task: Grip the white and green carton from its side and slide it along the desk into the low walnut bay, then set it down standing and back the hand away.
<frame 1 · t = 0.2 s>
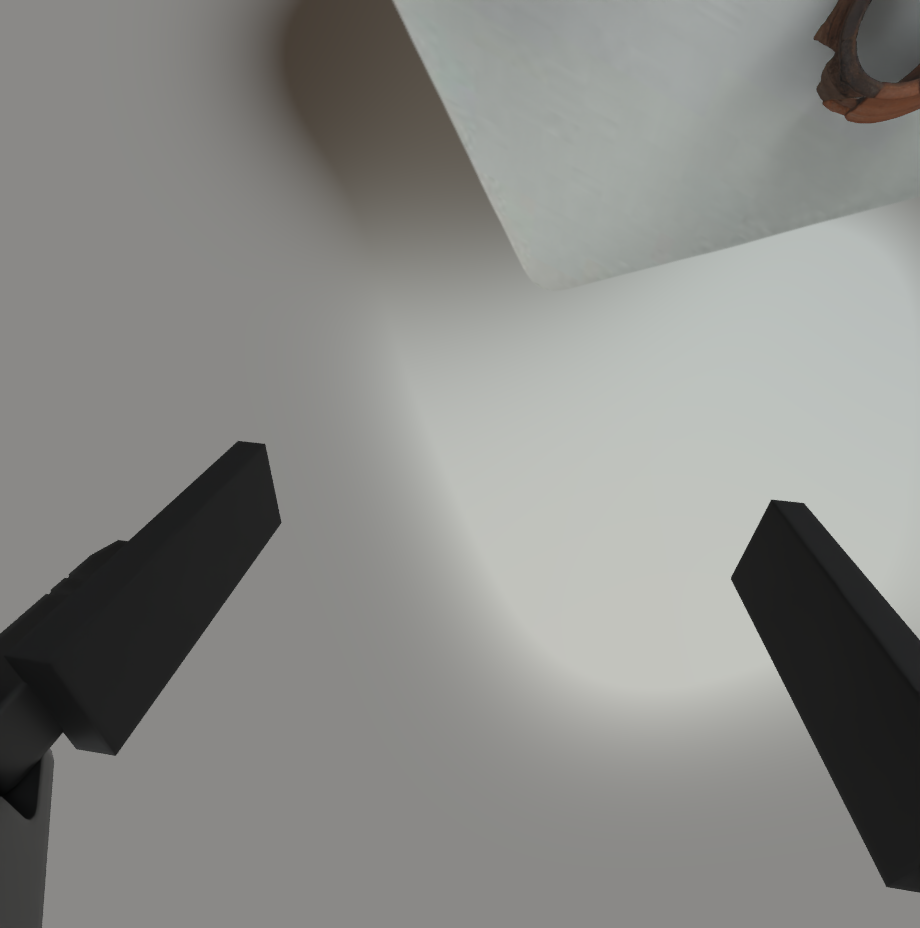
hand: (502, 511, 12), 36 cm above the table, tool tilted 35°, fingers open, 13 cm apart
broken clay pot: (913, 8, 28), on the table
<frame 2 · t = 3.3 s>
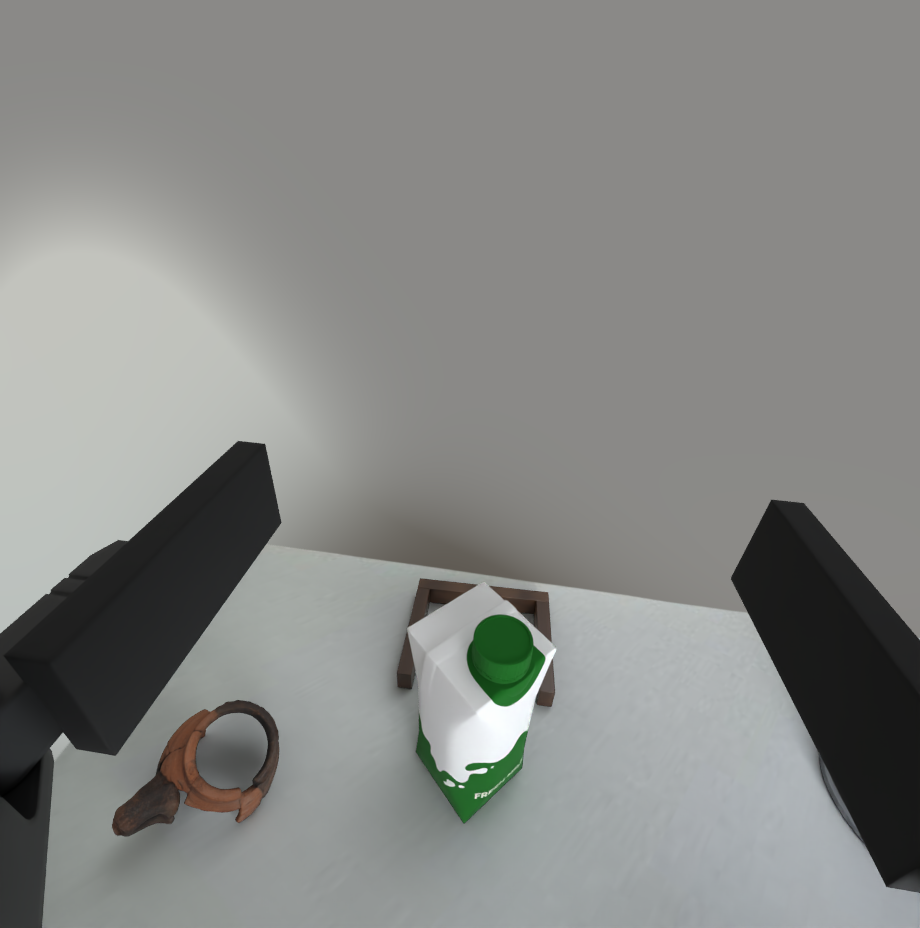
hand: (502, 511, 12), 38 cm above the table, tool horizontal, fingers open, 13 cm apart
broken clay pot: (211, 787, 40), on the table
bay: (478, 646, 52), on the table
white and green carton: (468, 760, 42), on the table
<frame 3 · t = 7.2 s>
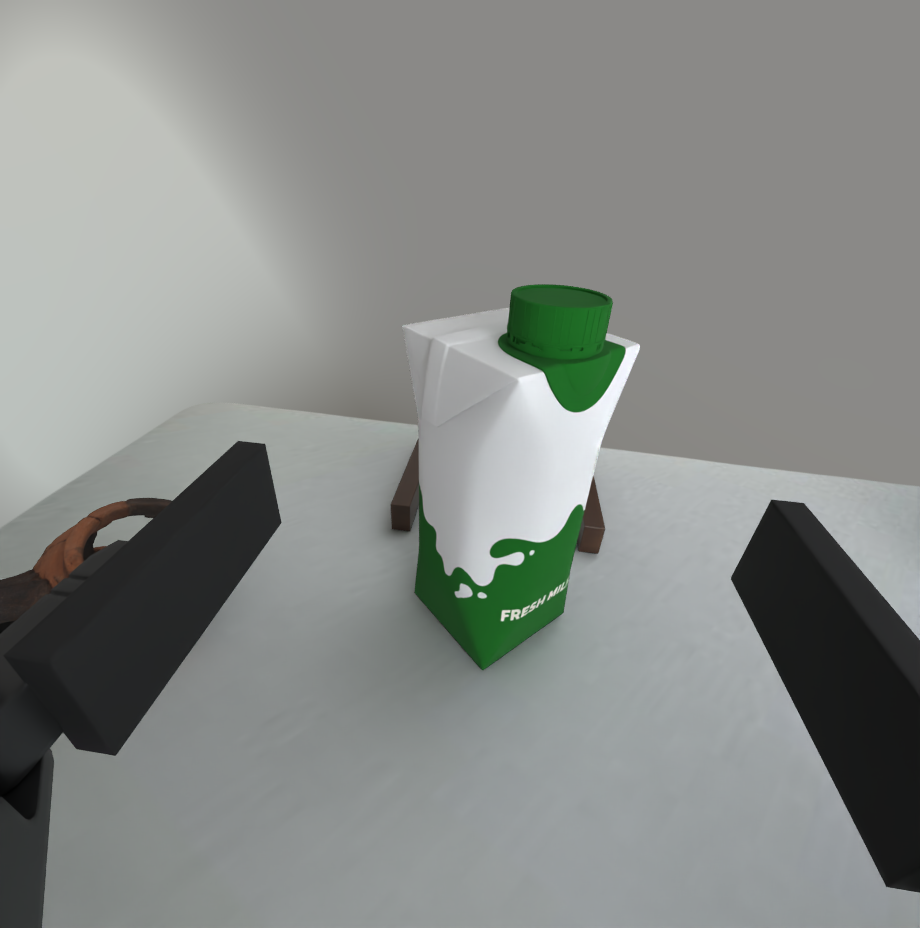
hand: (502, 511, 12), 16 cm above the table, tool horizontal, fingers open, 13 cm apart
broken clay pot: (122, 622, 28), on the table
bay: (497, 495, 40), on the table
white and green carton: (487, 604, 30), on the table
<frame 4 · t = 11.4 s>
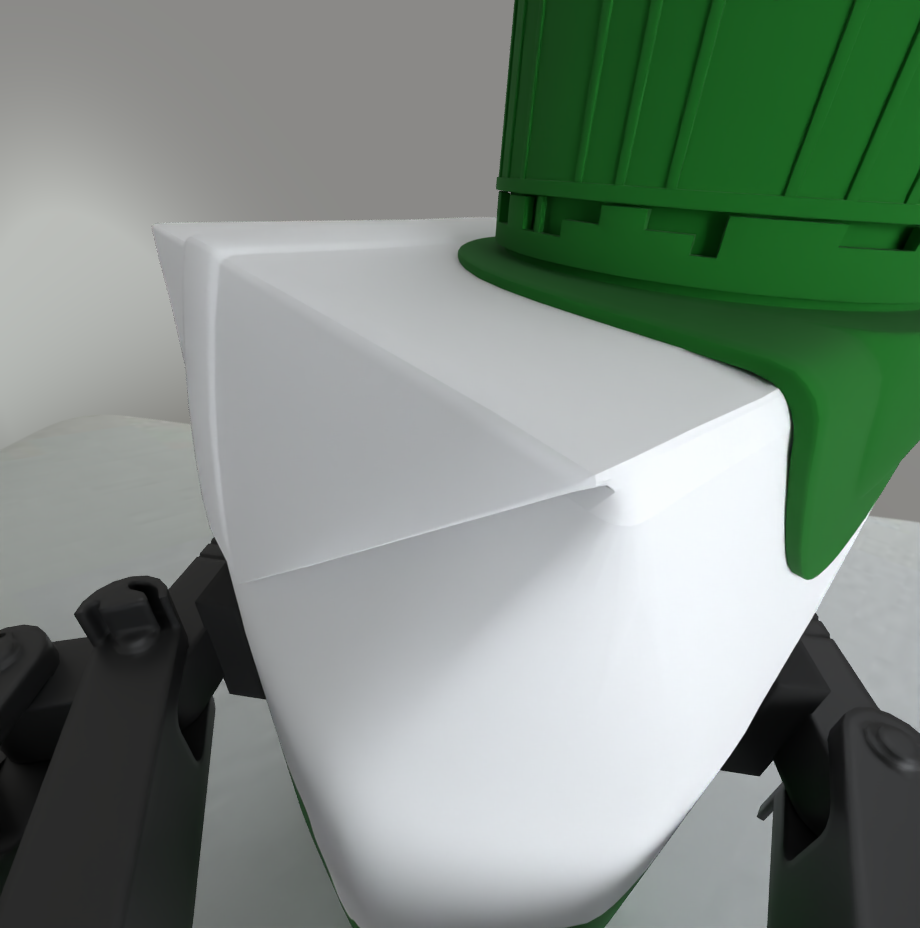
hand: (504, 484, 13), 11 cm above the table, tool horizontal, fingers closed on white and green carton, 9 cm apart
white and green carton: (462, 827, 16), on the table, touching gripper
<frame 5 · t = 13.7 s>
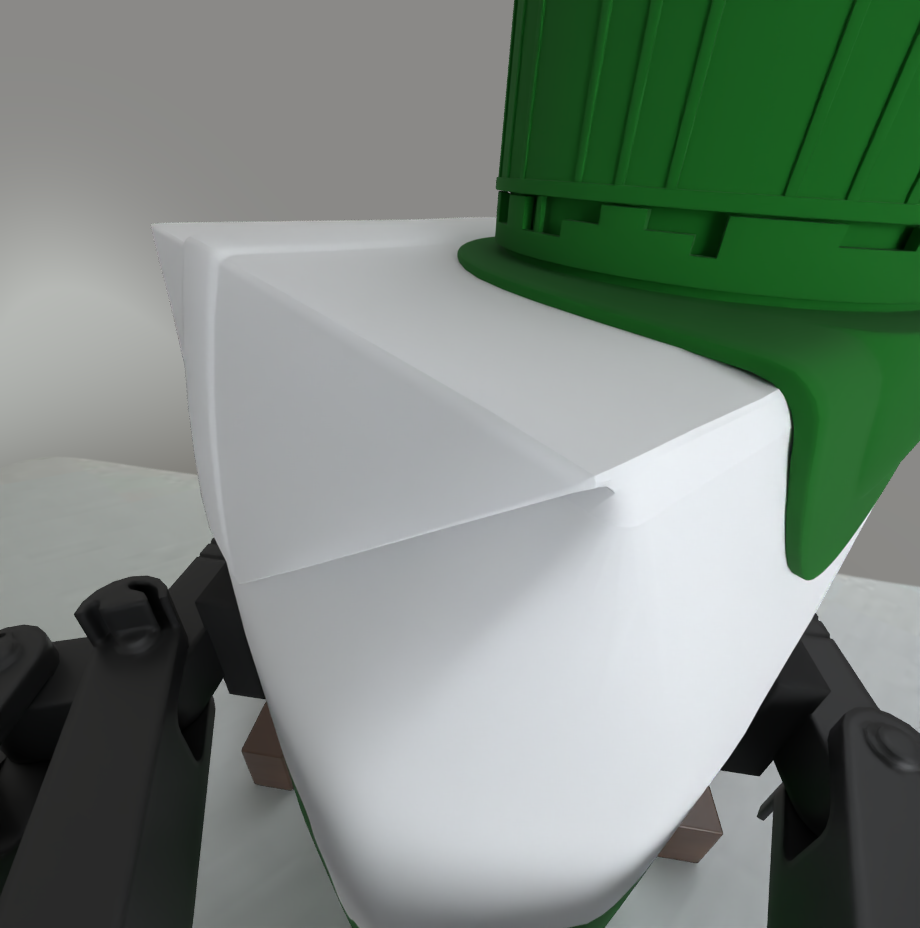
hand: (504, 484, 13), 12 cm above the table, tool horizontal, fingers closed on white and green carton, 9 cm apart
bay: (482, 670, 21), on the table
white and green carton: (462, 827, 16), point 1 cm above the table, touching gripper
when the fingers open (11 cm above the table, at t = 16.1 s): white and green carton stays where it is, on the table.
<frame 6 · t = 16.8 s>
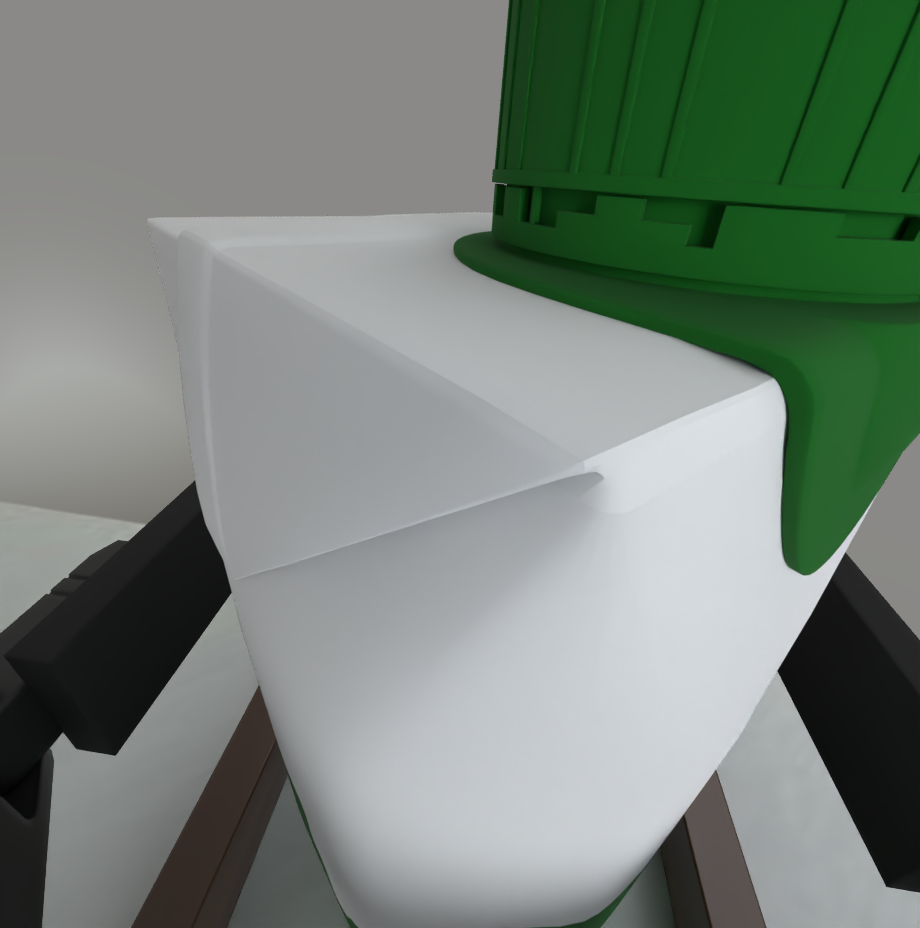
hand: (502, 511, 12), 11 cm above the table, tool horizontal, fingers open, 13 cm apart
bay: (465, 825, 15), on the table
white and green carton: (460, 826, 16), on the table
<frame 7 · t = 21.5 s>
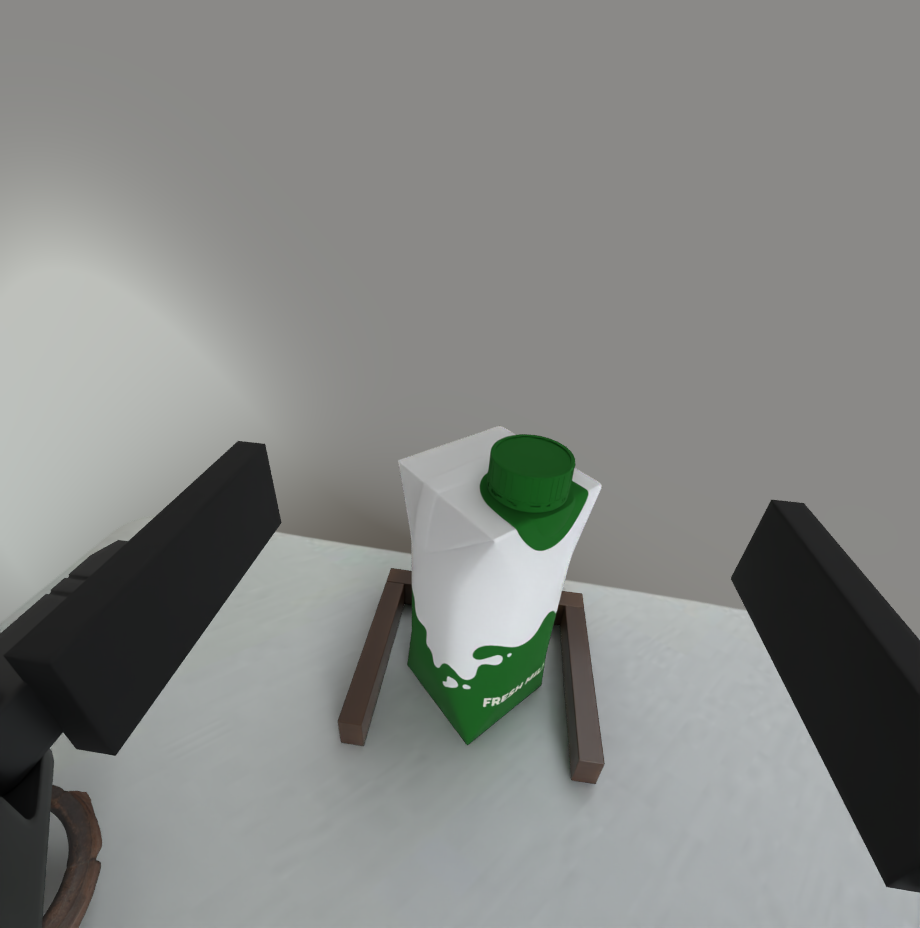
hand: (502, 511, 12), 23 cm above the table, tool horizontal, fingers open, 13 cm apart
bay: (474, 675, 34), on the table
white and green carton: (472, 676, 34), on the table
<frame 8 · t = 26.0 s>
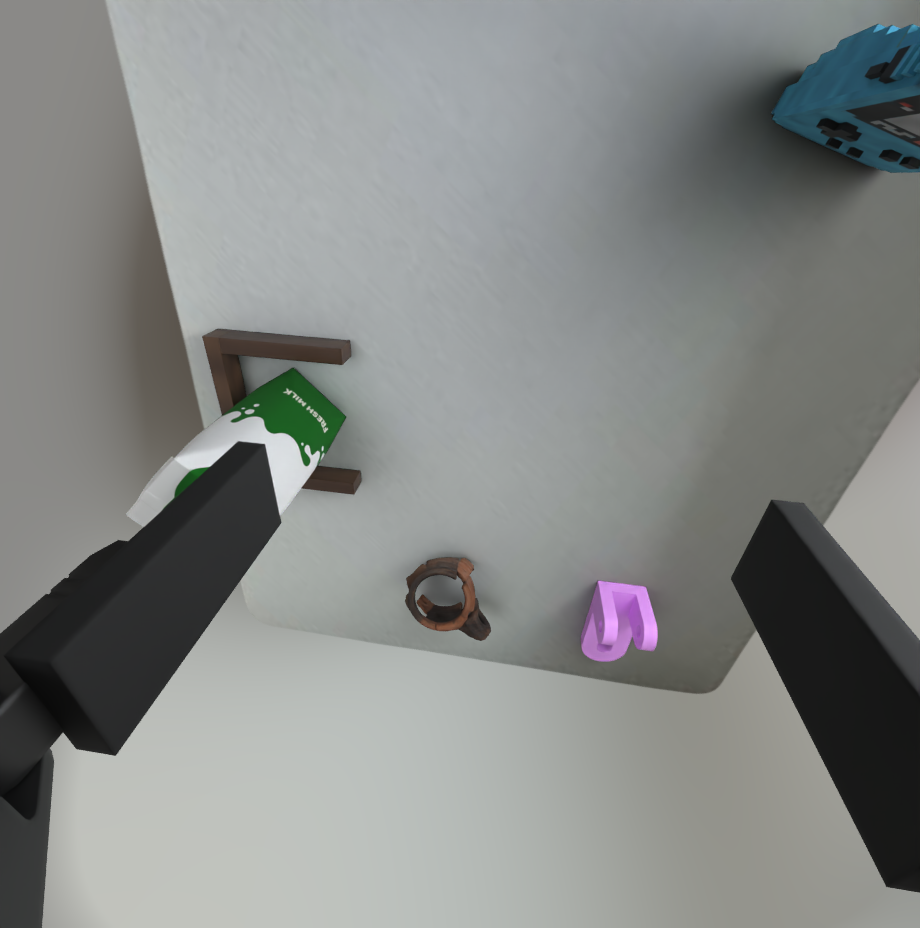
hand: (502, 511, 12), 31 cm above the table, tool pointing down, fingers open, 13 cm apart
bracket: (609, 618, 58), on the table
broken clay pot: (453, 581, 58), on the table
bay: (299, 411, 47), on the table
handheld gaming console: (843, 117, 30), on the table
white and green carton: (300, 412, 48), on the table
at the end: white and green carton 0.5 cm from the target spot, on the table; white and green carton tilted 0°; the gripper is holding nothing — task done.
